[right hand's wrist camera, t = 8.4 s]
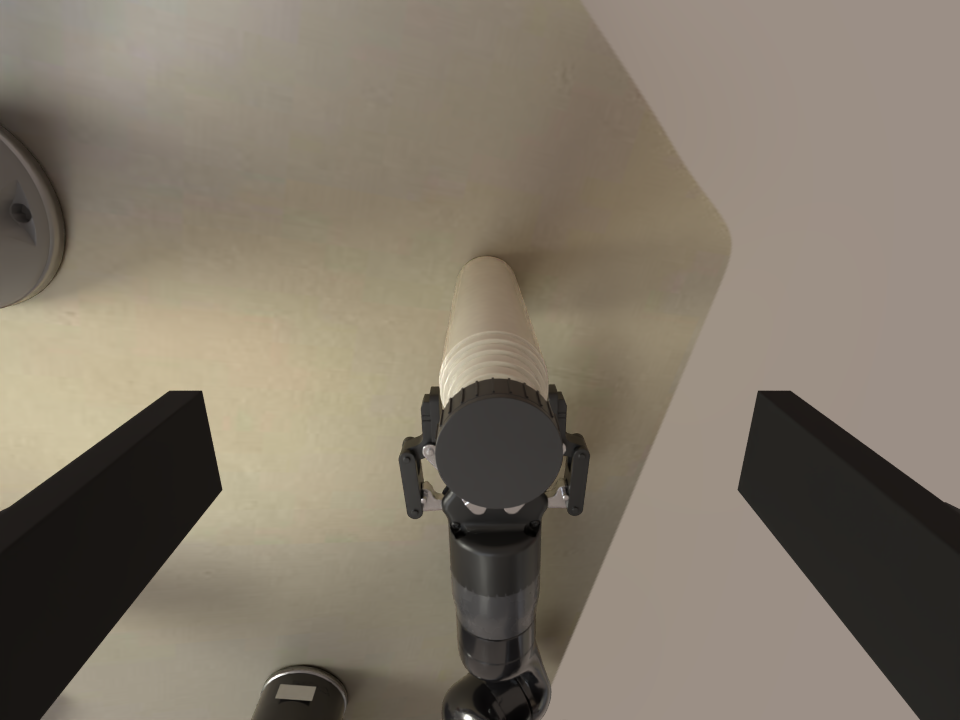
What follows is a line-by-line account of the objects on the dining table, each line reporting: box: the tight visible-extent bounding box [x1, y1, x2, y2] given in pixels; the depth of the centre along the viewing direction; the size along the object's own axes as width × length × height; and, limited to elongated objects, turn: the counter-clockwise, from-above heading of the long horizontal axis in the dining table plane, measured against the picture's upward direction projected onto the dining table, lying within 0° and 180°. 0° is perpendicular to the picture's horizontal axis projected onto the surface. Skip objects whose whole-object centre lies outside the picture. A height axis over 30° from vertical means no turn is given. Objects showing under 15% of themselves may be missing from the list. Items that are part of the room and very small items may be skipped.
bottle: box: [439, 256, 549, 408], centre depth 30 cm, size 5×5×26 cm
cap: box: [434, 377, 563, 509], centre depth 18 cm, size 4×4×2 cm
